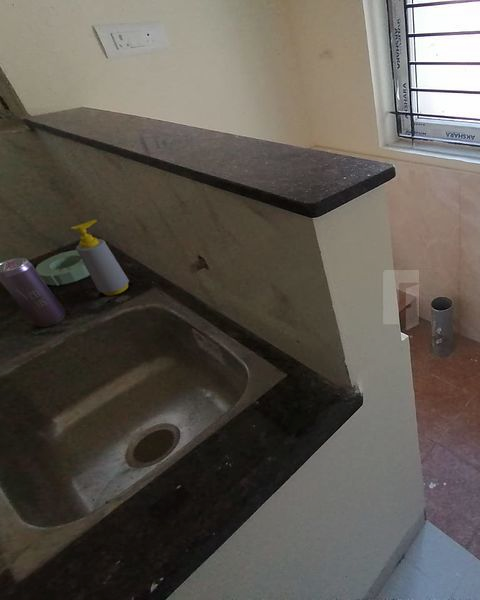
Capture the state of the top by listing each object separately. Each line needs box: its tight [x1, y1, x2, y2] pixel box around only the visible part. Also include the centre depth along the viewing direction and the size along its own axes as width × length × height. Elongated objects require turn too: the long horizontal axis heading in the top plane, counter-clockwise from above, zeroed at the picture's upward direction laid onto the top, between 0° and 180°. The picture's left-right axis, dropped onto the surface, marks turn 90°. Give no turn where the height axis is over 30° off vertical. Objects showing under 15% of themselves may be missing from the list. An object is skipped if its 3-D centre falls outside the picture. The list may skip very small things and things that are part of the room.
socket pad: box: [35, 249, 90, 287], centre depth 105 cm, size 13×13×3 cm
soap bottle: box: [70, 219, 130, 296], centre depth 93 cm, size 7×7×18 cm
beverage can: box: [0, 257, 66, 328], centre depth 85 cm, size 6×6×15 cm
